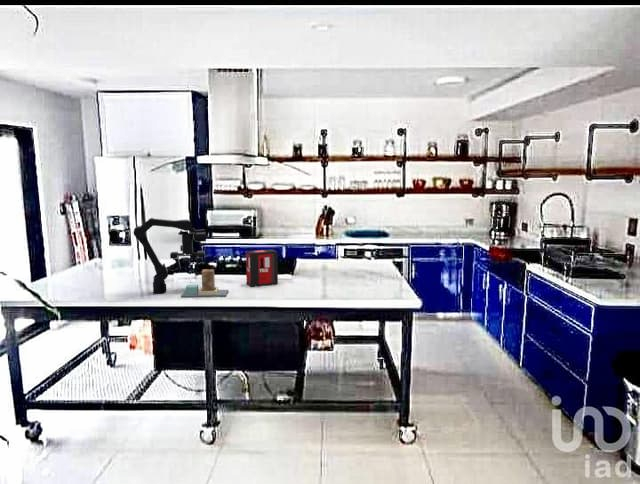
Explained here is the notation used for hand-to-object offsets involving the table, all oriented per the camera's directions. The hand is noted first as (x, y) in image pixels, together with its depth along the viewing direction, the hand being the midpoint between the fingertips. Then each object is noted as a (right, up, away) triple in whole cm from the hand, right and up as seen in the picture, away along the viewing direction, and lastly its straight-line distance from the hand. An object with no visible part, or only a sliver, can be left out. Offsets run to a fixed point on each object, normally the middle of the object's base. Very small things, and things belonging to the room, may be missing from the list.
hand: (188, 269), depth 290 cm
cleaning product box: (+40, -10, +17) cm, 44 cm away
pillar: (+13, -12, -8) cm, 20 cm away
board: (+11, -13, -7) cm, 19 cm away
